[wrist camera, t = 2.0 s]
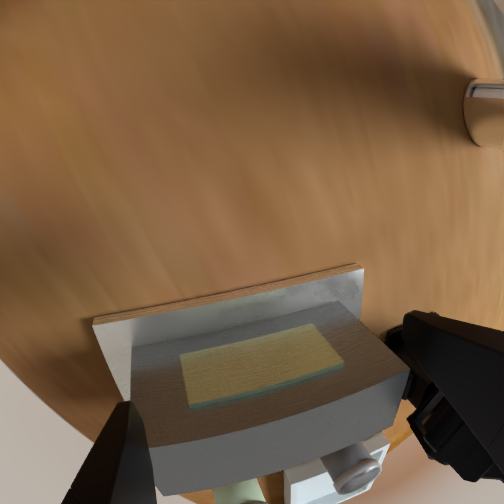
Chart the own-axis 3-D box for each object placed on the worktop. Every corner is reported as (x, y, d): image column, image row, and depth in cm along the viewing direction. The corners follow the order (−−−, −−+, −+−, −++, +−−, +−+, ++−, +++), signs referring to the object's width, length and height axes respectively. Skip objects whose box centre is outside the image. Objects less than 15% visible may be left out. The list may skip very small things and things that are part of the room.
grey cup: (352, 412, 29) (386, 459, 23) (346, 437, 31) (376, 481, 24) (309, 428, 28) (340, 480, 22) (307, 452, 30) (334, 500, 23)
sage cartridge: (248, 446, 26) (272, 505, 20) (253, 469, 28) (274, 521, 22) (199, 457, 25) (215, 518, 19) (208, 479, 27) (224, 533, 21)
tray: (379, 429, 33) (390, 443, 30) (362, 477, 38) (369, 489, 35) (283, 468, 30) (290, 484, 27) (284, 508, 35) (290, 521, 32)
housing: (356, 263, 22) (444, 325, 14) (348, 359, 26) (409, 430, 18) (94, 317, 18) (71, 427, 10) (134, 412, 22) (141, 512, 13)
